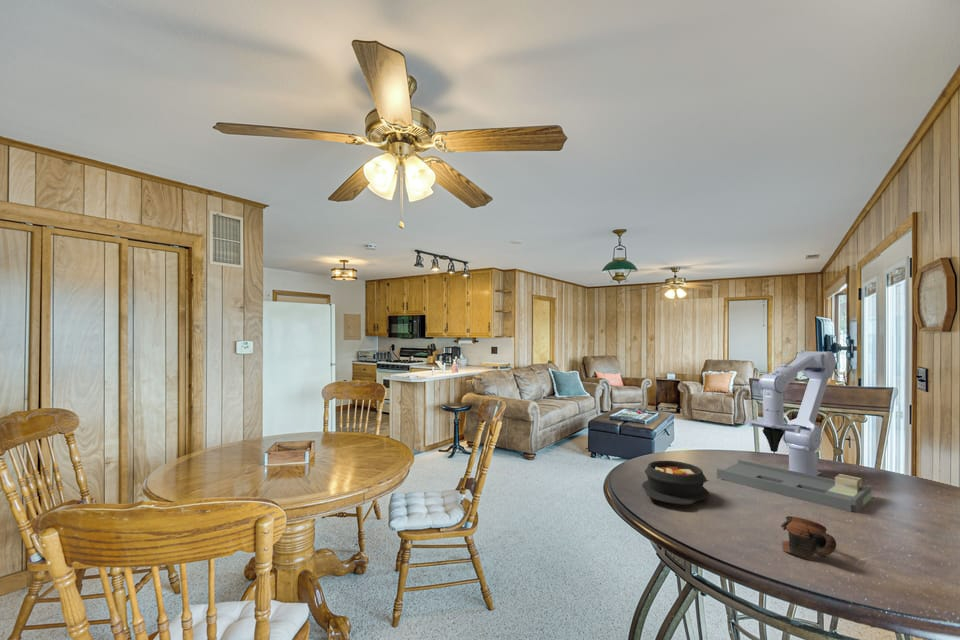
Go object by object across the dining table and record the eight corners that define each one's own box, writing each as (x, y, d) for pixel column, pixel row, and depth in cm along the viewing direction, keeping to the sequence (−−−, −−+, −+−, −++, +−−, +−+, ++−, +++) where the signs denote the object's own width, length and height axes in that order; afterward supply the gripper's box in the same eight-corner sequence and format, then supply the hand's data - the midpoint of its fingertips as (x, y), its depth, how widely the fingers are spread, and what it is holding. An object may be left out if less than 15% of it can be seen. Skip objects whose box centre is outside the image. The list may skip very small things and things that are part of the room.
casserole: (704, 517, 114) (704, 485, 115) (632, 502, 125) (632, 472, 125) (713, 489, 135) (713, 462, 135) (651, 478, 145) (651, 453, 146)
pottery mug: (767, 547, 99) (772, 511, 102) (801, 563, 100) (804, 527, 103) (818, 559, 88) (822, 518, 91) (855, 577, 89) (858, 535, 92)
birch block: (840, 487, 131) (839, 473, 131) (861, 491, 127) (861, 478, 127) (835, 490, 128) (834, 477, 128) (857, 495, 124) (856, 481, 124)
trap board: (739, 468, 156) (739, 458, 156) (871, 497, 127) (871, 485, 128) (717, 478, 145) (716, 467, 145) (855, 513, 117) (855, 500, 117)
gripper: (744, 408, 148) (745, 448, 147) (795, 414, 136) (796, 458, 136) (752, 406, 152) (753, 445, 152) (802, 412, 141) (803, 454, 140)
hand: (774, 451), depth 144 cm, fingers closed
